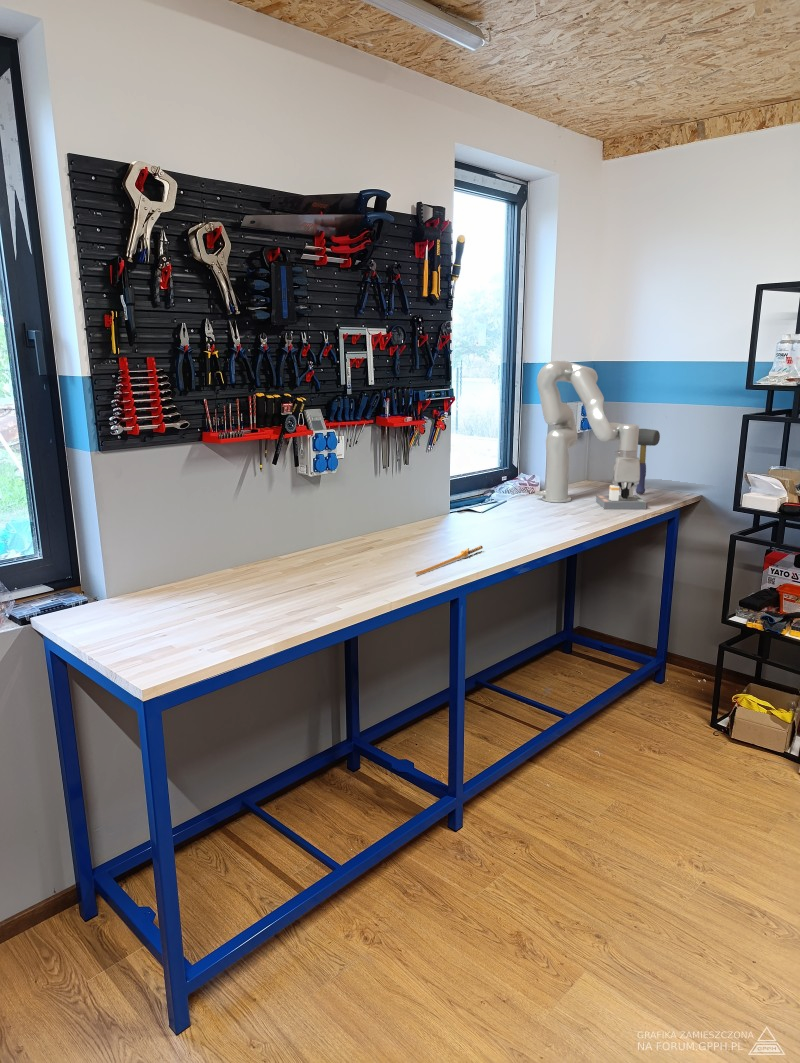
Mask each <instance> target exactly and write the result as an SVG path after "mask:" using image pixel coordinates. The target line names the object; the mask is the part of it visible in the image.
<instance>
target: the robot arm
mask: <svg viewBox="0 0 800 1063" xmlns="http://www.w3.org/2000/svg"><path fill="white" fill-rule="evenodd" d="M598 379H599V377H598V374H597V371H596V370H595V369H594V368H592V367H588V366H585V365H581V364H578V363H575V362H572V361H571V362H570V361H566V360H553V361H552V360H551V361H549V362H547V363H545V364H544V365H543V366H542V367H541V369H540V370H539V372H538V374H537V378H536V386H537V390H538V394H539V399H540V405H541V410H542V415H543V419H544V422H545V423H546V424H547V425H548V426H554V429H552V430H550V431H549V432H548V433H547V435H546V437H545V438H546V439H545V448H546V477H545V478H546V479H545V480H546V482H545V488H544V490H542V491H540V490H535V491H534V496H538V497H541V496H542V497H541V499H542V501H543V502H547V503H568V502H571V501H572V497H571V496H568V495H569V476H570V475H569V473H570V455H569V449H570V448H572V447H574V446H575V445H576V444H577V442H578V439H579V438H578V436H579V435H578V429H577V425H576V421H575V416H574V412H573V409H572V407H571V406H570V405H569V404H568V403H565V402H562V399H561V393H560V391H559V390H560V389H559V388H558V386H557V385H558V384H557V383H558V382H567V383H569V384H572V386H573V388H574V390H575V392H576V393H577V395H578V397H579V399H580V401H581V403H582V405H583V406H584V409H585V413H586V414H585V415H586V417H587V422H588V423H589V427H590V428H591V430H592V431H593V434H594V435H595V437H596V438H597V439H598V440H599V441H600V442H603V443H609V442H614V441H618V450H617V451H614V456H616V457H615V460H614V466H613V473H612V485H618V486H619V489H620V495H621V496H622V498H623V499H625V498H626V499H628V496H629V489H630V488H631V487H632V486H633V485H634V486H637V484H639V480H640V462H639V460H640V457H638V447H639V445H638V435H639V429H640V427H639V425H638V424H634V423H619V422H609V419H608V418H607V416H606V414H605V412H604V402H605V397H604V395H603V393H602V391H601V389H600V387H599V386H598V384H597V382H598ZM624 482H627V485H626V488H625V484H624ZM634 486H633V487H634Z"/></svg>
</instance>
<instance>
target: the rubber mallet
mask: <svg viewBox="0 0 800 1063" xmlns="http://www.w3.org/2000/svg"><path fill="white" fill-rule="evenodd" d="M660 438H661V434H660V432H659V430H657V429H649V428H639V435H638V446H640V449H639V462H640V480H639V484H637V485H636V489H635V493H636V495H638V494H639V496H641V495H642V496H643V495H644V494H645V492H646V488H645V487H646V486H645V485H646V476H647V463H646V457H647V456H646V455H647V446H649V447H651V446H657V445H658V444H659V442H660Z"/></svg>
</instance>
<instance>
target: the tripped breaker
mask: <svg viewBox="0 0 800 1063" xmlns="http://www.w3.org/2000/svg"><path fill="white" fill-rule="evenodd" d="M608 492H609V494H608V495H609V499H610V500H611V501H618V500H619V495H620V487H619V485H615V484H610V485H609V491H608Z"/></svg>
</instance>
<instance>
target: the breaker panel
mask: <svg viewBox="0 0 800 1063" xmlns="http://www.w3.org/2000/svg"><path fill="white" fill-rule="evenodd" d="M624 484H625V488H626V485H627V482H624ZM634 486H635V485H633V486H632V487H631V488H630V489H629V496H628V499H626V498H625V499H623V498H622V496H621V494H619V500H618V501H611V500H610V499H609V494H605V495H604V494H603V495H602V494H597V495H596V498H595V499H596V500H595V503H596V504H598V506H600V507H601V508H602V507H603V508H604V509H603V508H602V509H603V510H646V509H647V501H646V500H643V499H642V498H641V497H639V496H638V494H636V495H635V494H634Z"/></svg>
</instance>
